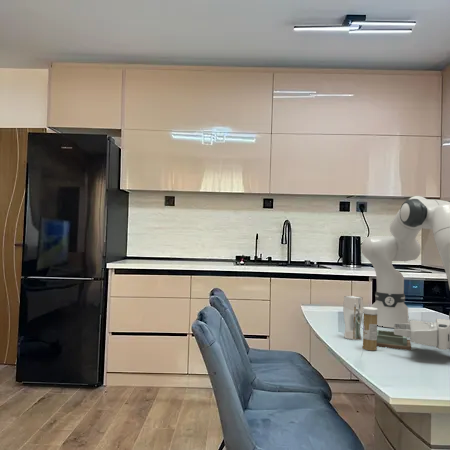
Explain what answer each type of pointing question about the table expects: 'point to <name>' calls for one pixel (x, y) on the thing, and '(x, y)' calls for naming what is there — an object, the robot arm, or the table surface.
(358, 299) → the beer glass
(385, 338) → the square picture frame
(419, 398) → the table surface
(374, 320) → the sprinkles bottle
